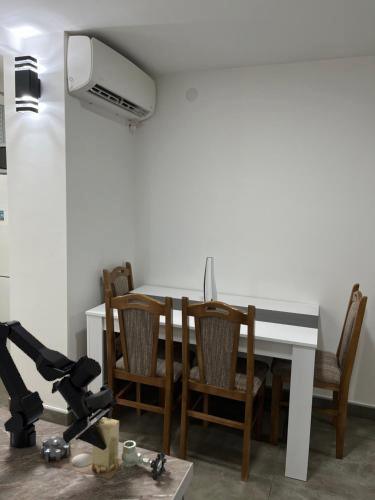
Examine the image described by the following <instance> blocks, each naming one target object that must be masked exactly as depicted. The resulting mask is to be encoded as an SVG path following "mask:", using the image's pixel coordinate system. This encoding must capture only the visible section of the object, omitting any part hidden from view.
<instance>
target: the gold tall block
mask: <svg viewBox="0 0 375 500" xmlns="http://www.w3.org/2000/svg"><path fill="white" fill-rule="evenodd" d="M95 425H96V431H97V433H98V434H99V436H100V437H101V439H102V440H103V442H104V444H105V446H106V449H105V450H101V449H99V448H97V447H96V446H94V445H92V444H91V447H92V448H91V452H92V470H95V471H96V472H97V474H100V473H106V474H110V472H111V471H113V470H116V469H117V464H118V458H119V438H120V434H119V433H120V420H117V419H113V418H111V419H109V418H105V417H103V418H101V419H100V420H99V421H98V422H97V423H95ZM117 470H118V469H117Z"/></svg>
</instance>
